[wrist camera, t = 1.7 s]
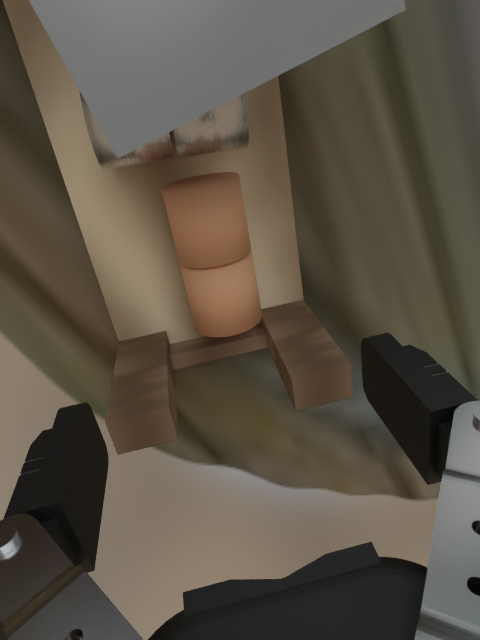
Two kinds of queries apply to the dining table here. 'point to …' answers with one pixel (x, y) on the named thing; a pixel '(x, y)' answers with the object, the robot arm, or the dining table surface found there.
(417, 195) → the dining table surface
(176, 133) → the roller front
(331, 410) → the dining table surface
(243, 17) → the slab
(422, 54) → the dining table surface
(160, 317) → the deck
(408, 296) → the dining table surface
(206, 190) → the roller
